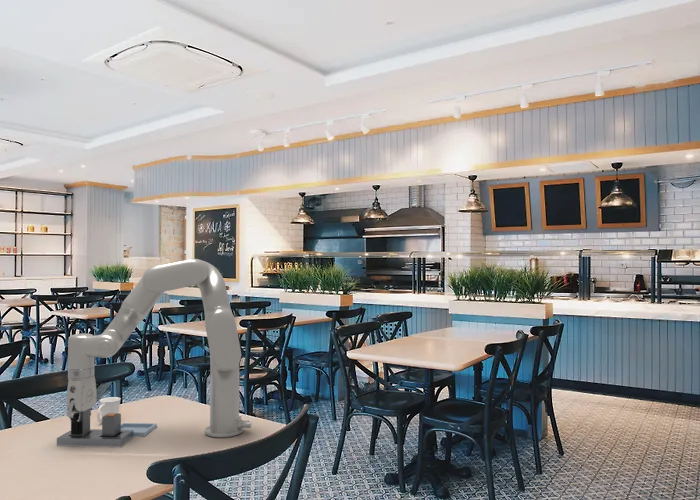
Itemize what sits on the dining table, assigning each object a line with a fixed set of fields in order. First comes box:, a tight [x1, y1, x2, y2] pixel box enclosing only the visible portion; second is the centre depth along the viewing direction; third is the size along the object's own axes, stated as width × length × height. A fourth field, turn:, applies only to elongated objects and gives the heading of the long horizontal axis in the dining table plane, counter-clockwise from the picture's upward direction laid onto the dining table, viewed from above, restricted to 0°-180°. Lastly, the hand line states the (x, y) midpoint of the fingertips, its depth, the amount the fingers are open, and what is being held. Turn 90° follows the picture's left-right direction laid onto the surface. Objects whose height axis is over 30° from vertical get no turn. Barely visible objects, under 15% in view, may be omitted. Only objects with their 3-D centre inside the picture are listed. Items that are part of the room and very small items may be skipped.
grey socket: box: [56, 412, 134, 448], centre depth 173 cm, size 20×9×9 cm, turn 87°
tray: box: [121, 422, 158, 437], centre depth 184 cm, size 12×10×2 cm
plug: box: [71, 409, 91, 437], centre depth 174 cm, size 4×4×8 cm
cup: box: [96, 396, 122, 424], centre depth 195 cm, size 7×10×8 cm
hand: (80, 431), depth 174 cm, fingers closed on plug, 4 cm apart
